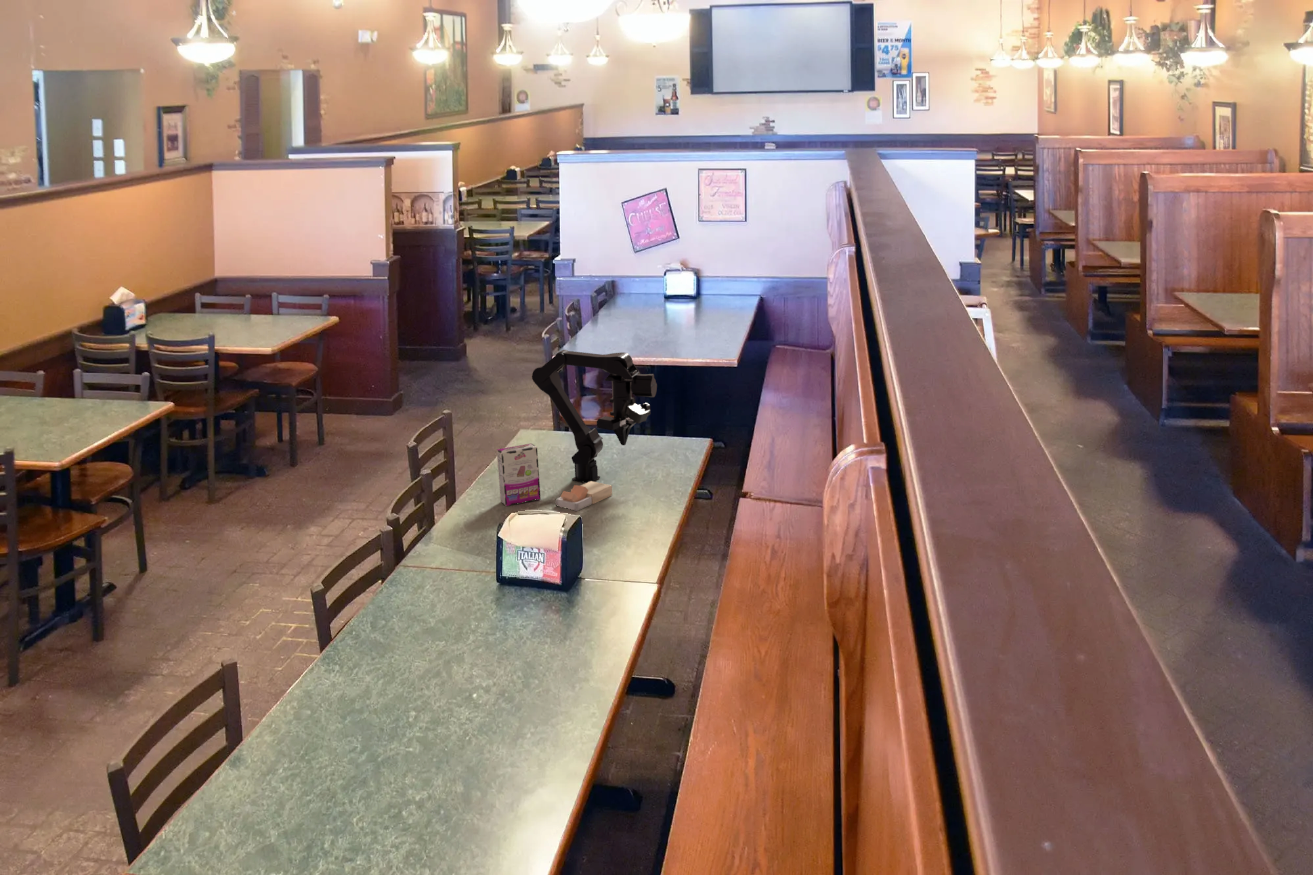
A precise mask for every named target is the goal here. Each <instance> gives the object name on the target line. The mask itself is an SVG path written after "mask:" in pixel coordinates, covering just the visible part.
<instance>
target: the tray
mask: <svg viewBox="0 0 1313 875" xmlns="http://www.w3.org/2000/svg"><path fill="white" fill-rule="evenodd" d="M556 505H558V506H560V507H559V508H562V507H566V508H568V509H567V510H570V509H571V510H572V511H576V512H577V511H580V510H582V509H585V508H587V507H588V506H591V505H593V504H592V497H590V496H589V497H587V498H585V499H583V500H580V501H578V502H572V501H567V500H563V499H562V498H561V496H560V497H559V496H558V497H557V498H555V506H556ZM566 508H565V509H566ZM571 510H570V511H571Z"/></svg>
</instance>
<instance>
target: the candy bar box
mask: <svg viewBox="0 0 1313 875" xmlns="http://www.w3.org/2000/svg"><path fill="white" fill-rule="evenodd" d="M538 454H539V453H538V446H536V445H535V444H533V443H527V444H520V445H515V446H508V447H503V448H498V449H496V458H497V459H496V460H497V468H498V469H497V472H498V483H499V496H500V502H501V504H503V505H504V506H506V507H509V506H514V505H518V504H517V503H520V504H523V503H522V502H525V501H530V502H533V501H532V500H535V499H536V500H535V501H538V500H537V499H540V500H541V498H542V497H541V484H540V472H539V471H540V469H539V456H538ZM525 503H526V502H525Z"/></svg>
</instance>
